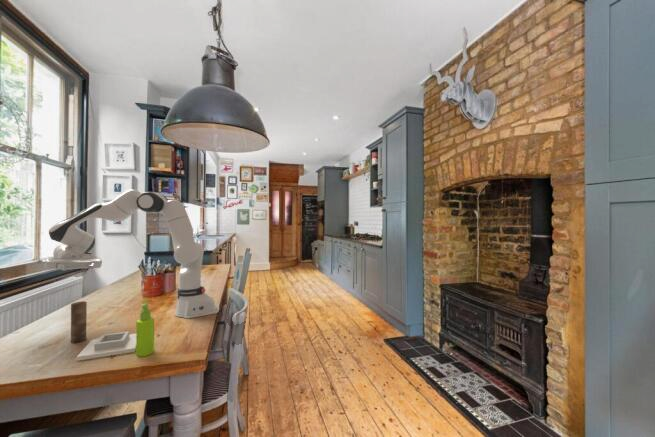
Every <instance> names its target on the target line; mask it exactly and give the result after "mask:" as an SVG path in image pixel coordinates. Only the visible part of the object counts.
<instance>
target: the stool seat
mask: <svg viewBox="0 0 655 437" xmlns="http://www.w3.org/2000/svg"><path fill="white" fill-rule="evenodd" d="M129 353H136V333H131V334H130V331H121V332H115V333H106V334H101V335H100V337H99V338H93V339H91V340H90V341H89V342H88V343H87V345H86V346H85V347H84V348H83V349H82V350H81V351H80V352H79V354H78V355H76V362H78V361H84V360H86V361H87V360H90V359H91V360H92V359H97V358H105V357H110V356H111V355H112V356H116V355H117V356H118V355H123V354H129Z"/></svg>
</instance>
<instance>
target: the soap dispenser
mask: <svg viewBox="0 0 655 437" xmlns="http://www.w3.org/2000/svg"><path fill="white" fill-rule="evenodd" d="M149 303H150V302H149V301H143V302H142V304H141V308H142V310H140V312H139V314H140V315H139V316H140V318H138V319H137V320H136V322H135V323H136V325H135V326H136V328H135V329H136V333H135V334H136V350H135V353H136V354H135V355H136V356H137V357H147V356H150V355H152V354H153V353H154V352H155V317H153V316H151V309H149Z"/></svg>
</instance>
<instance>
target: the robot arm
mask: <svg viewBox="0 0 655 437" xmlns="http://www.w3.org/2000/svg"><path fill="white" fill-rule="evenodd" d="M138 210H141V211H142V212H145V213H149V214H162V215H163V217H164V219H165V222H166V225H167V228H168V229H169V233H170V236H171V239H172V246H173V247H172V248H173V251H174V252H173V258H174V260H175V262H176V263H178V264H180V267H179V268H180V269H179V272H178V285H177V286H178V287H177V290H176V291H177V292H176V294H177V296H176V297H177V305H176V308H175V312H174V316H175V317H178V318H184V319H193V318H200V317H204V316H211V315H216V314H218V313H219V312H220V307H219V306H218V305H217V304H216V302H215V300H214V298H213V297H212V296H211V295H209V294H208V293H206V288H205V287H204V286H202V284H201V280H202V279H201V277H202V266H203V261H204V260H203V259H204V252H205V247H204V246H203V244H201V243H200V242H197V241H196V240H195V237H194V228H193V226H192V222H191V221H190V217H189V215H188V212H187V210H186V208H185V207H184V205H183V203H182V202H181V201H180V200H178V199H168V198H167V197H166V196H165V195H163V194H161V193H157V192H154V191H144V192H142V193H141V192H140V190H139V191H138V190H137V189H134V188H133V189H129V190H126V191H124V192H123V193H121V194H120V195H118V196H115V198H114V199H112V200H111V201H108V202H105V203H95V204H93V205H91V206H89V207H87V208H84V209H83V210H81V211H79V212H77V213H75V214H74V215H72V216H70V217H68V218H66V219H64V220H61V221H59V222H57V223H55V224H54V225H53V226H52V227H50V229H49V230H48V235H49V238H50V240H52V241H55V242H57V243H61V244H59V245H57V246H55V248H54V250H53V253H52V254H53V256H52V257H47V258H45V259H42V260H41V262H42V264H44V269H46V270H61V271H68V270H74V269H78V270H79V269H88V270H94V269H100V268H101V267H102V266H103V265H102V264H103V261H102V259H101V258H100V257H98V256H97V255H95V253H92V252H91V251H92V249H93V248H94V246H95V244H96V238H95V236H94V235H93V234H90V233H89V232H87V231H86V230H83V229H81V228H79V227H78V225H81V224H82V223H84V222H86V221H88V220H89V219H102V220H106V221H110V222H122V221H125V220H127V219H128V218H129V217H131V216H132V215H133V214H134V213H136V212H137V211H138Z"/></svg>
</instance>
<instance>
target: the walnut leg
mask: <svg viewBox="0 0 655 437" xmlns="http://www.w3.org/2000/svg"><path fill="white" fill-rule="evenodd" d="M87 306H88V305H87V301H77V302H72V303H71V304H70V343H71V344H77V343H82V342H84V341H85V342H86V340H87V316H88V315H87Z"/></svg>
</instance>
